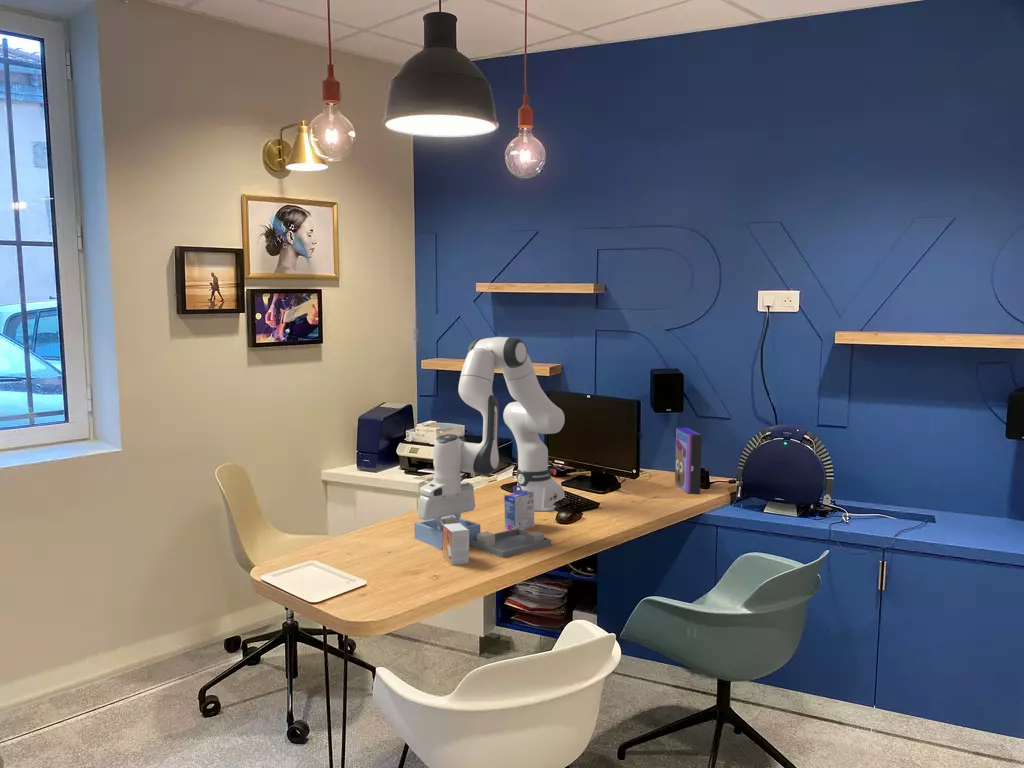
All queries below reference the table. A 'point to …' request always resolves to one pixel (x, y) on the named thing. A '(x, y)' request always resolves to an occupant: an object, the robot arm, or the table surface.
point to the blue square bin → (434, 537)
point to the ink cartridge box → (519, 509)
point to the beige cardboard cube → (448, 520)
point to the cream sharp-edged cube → (486, 538)
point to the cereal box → (688, 460)
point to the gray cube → (534, 537)
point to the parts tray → (510, 543)
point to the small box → (455, 544)
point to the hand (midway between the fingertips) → (447, 528)
